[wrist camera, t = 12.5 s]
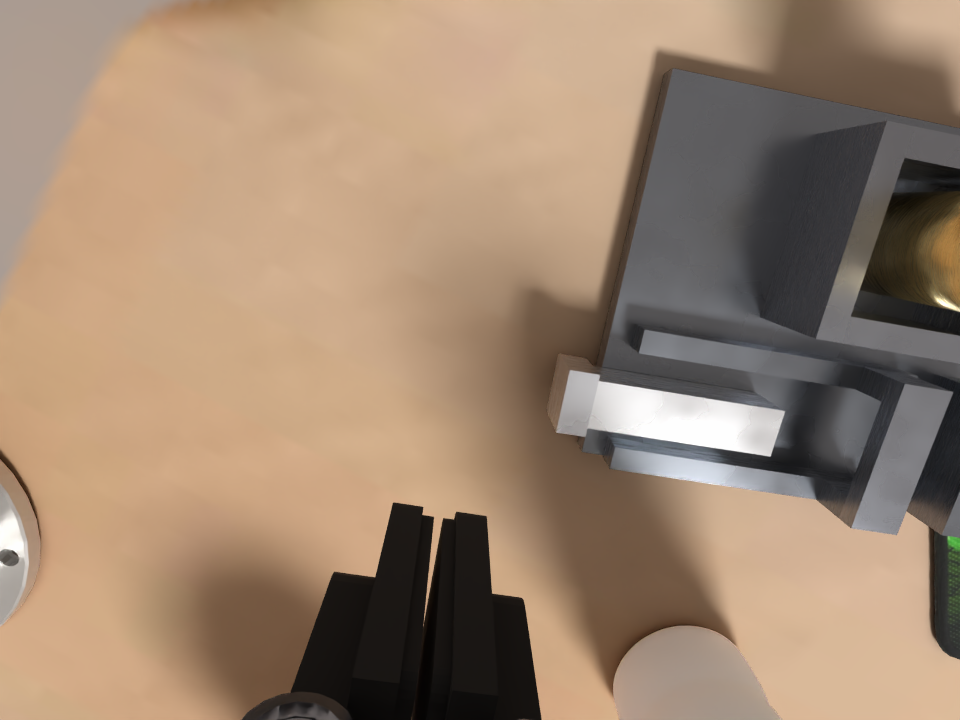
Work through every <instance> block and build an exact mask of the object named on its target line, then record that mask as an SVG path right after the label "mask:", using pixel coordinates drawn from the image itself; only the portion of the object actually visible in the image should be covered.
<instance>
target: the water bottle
mask: <svg viewBox="0 0 960 720" xmlns="http://www.w3.org/2000/svg"><path fill="white" fill-rule="evenodd" d="M613 696H614V702H615V707H616V710H617V713H618V716H619V719H620V720H782V718H781V717H780V716H779V715H778V713H777V712H776V711H775V710H774V709H773V708H772V707H771V705H770V704H769V702H768V699H767V697H766V695H765V693H764V690H763V688H762V686H761V684H760V683H759V681H758V679H757V677H756V675H755V674H754V672H753V670H752V669H751V667H750V665H749V664H748V662H747V661H746V659H745V657H744V656H743V654H742V653H741V652H740V650H739V649H738V648H737V647H736V646H735V645H734V644H733V643H732V642H731V641H730V640H729V639H727V638H726V637H725V636H723V635H721V634H719V633H717V632H715V631H713V630H710V629H707V628H703V627H698V626H674V627H669V628H665V629H661V630H659V631H656V632H654V633H652V634H650V635H648V636H646V637H644V638H643V639H641V640H640V641H639V642H637V643H636V644H635V645H634V646H633V647H632V648H631V649H630V650H629V651H628V652H627V653H626V655H625V656H624V657H623V659H622V660H621V662H620V664H619V666H618V668H617V671H616V674H615V677H614V682H613Z"/></svg>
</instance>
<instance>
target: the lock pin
mask: <svg viewBox="0 0 960 720" xmlns="http://www.w3.org/2000/svg"><path fill="white" fill-rule="evenodd" d="M546 411H547V413H548V415H549V417H550V420H551V422H552V424H553V427H554V429H555V431H556V433H563V434H569V435H576V436H582V437H586V433H587V429H588V428H589V429H595V430H602V431H608V432H614V433H621V434H627V435H634V436H640V437H647V438H653V439H660V440H666V441H673V442H679V443H686V444H692V445H699V446H705V447H712V448H718V449H725V450H731V451H738V452H744V453H751V454H757V455H763V456H771V453H772V450H773V447H774V444H775V441H776V438H777V435H778V432H779V429H780V426H781V423H782V419H783V416H784V413H785V411H784V410H783V409H781V408H780V407H778V406H776V405H775V404H773V403H772V402H770V401H769V400H767V399H765V398H764V397H762V396H761V395H759V394H757V393H756V392H750V391H743V390H737V389H731V388H725V387H719V386H713V385H707V384H701V383H695V382H688V381H682V380H676V379H670V378H664V377H658V376H652V375H646V374H640V373H633V372H627V371H621V370H615V369H609V368H603V367H597V366H592V364H591V363H590V362H589V361H588V360H587V358H584V357H578V356H572V355H566V354H560V353H559V354H558V359H557V363H556V368H555V373H554V377H553V382H552V386H551V391H550V396H549V400H548V405H547V409H546Z"/></svg>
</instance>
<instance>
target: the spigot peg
mask: <svg viewBox="0 0 960 720" xmlns="http://www.w3.org/2000/svg"><path fill="white" fill-rule="evenodd" d="M860 290H861V291H866V292H871V293H875V294H880V295H884V296H889V297H893V298H898V299H903V300H907V301H912V302H916V303H921V304H925V305H930V306H934V307H939V308H944V309H948V310H953V311H957V312H960V191H935V192H893V193H892V196H891V199H890V202H889V205H888V208H887V211H886V214H885V217H884V220H883V223H882V225H881V228H880V231H879V234H878V237H877V240H876V243H875V246H874V249H873V252H872V255H871V258H870V261H869V264H868V267H867V270H866V273H865V276H864V279H863V282H862V284H861V287H860Z"/></svg>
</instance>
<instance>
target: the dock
mask: <svg viewBox="0 0 960 720" xmlns="http://www.w3.org/2000/svg"><path fill="white" fill-rule="evenodd" d="M935 191H960V128H956V127H951V126H946V125H942V124H937V123H932V122H927V121H922V120H918V119H913V118H908V117H903V116H899V115H894V114H889V113H884V112H879V111H875V110H870V109H865V108H860V107H856V106H851V105H846V104H841V103H836V102H832V101H827V100H822V99H817V98H812V97H808V96H803V95H798V94H793V93H789V92H784V91H779V90H774V89H769V88H765V87H760V86H755V85H750V84H746V83H741V82H736V81H731V80H726V79H722V78H717V77H712V76H707V75H703V74H698V73H693V72H688V71H683V70H679V69H674V68H673V69H671V70H670V71H668V72H666V73H665V74H664V77H663V81H662V86H661V90H660V94H659V98H658V103H657V107H656V111H655V115H654V120H653V124H652V128H651V132H650V137H649V141H648V145H647V149H646V154H645V158H644V162H643V166H642V171H641V175H640V179H639V183H638V188H637V192H636V196H635V201H634V205H633V209H632V213H631V218H630V222H629V226H628V230H627V235H626V239H625V243H624V247H623V252H622V256H621V260H620V264H619V269H618V273H617V277H616V281H615V286H614V290H613V294H612V298H611V303H610V307H609V311H608V316H607V320H606V324H605V328H604V333H603V337H602V341H601V345H600V350H599V354H598V358H597V362H596V366H597V367H603V368H609V369H615V370H621V371H627V372H633V373H640V374H646V375H652V376H658V377H664V378H670V379H676V380H682V381H688V382H695V383H701V384H707V385H713V386H719V387H725V388H731V389H737V390H743V391H750V392H756V393H757V394H759V395H761V396H762V397H764V398H765V399H767V400H769V401H770V402H772V403H773V404H775V405H776V406H778V407H780V408H781V409H783V410H784V411H785V413H784V416H783V419H782V423H781V426H780V429H779V432H778V435H777V438H776V441H775V444H774V447H773V450H772V453H771V456H763V455H757V454H751V453H744V452H738V451H731V450H725V449H718V448H712V447H705V446H699V445H692V444H686V443H679V442H673V441H666V440H660V439H653V438H647V437H640V436H634V435H627V434H621V433H614V432H608V431H602V430H595V429H589V428H588V429H587V433H586V437H582V436H579V439H578V445H579V447H580V449H581V451H582V452H586V453H592V454H599V455H603V458H604V460H605V461H606V463H607V465H608V467H609V468H610V469H614V470H621V471H628V472H635V473H641V474H648V475H655V476H661V477H668V478H675V479H682V480H688V481H695V482H702V483H708V484H715V485H722V486H729V487H735V488H742V489H749V490H755V491H762V492H769V493H776V494H782V495H789V496H796V497H802V498H809V499H816V500H818V501H819V502H820V503H821V504H822V505H824V506H825V507H826V508H827V509H828V510H830V511H831V512H832V513H833V514H834V515H836V516H837V517H838V518H839V519H841V520H842V521H843V522H844V523H845V524H847V525H848V526H849V527H850V528H853V529H859V530H866V531H873V532H880V533H887V534H894V535H897V533H898V531H899V528H900V526H901V523H902V521H903V518H904V516H905V513H906V511H907V512H909V513H910V514H911V515H913V516H914V517H916V518H917V519H919V520H920V521H922V522H923V523H925V524H926V525H927V526H929V527H930V528H932V529H933V530H935V531H936V532H938V533H939V534H941V535H944V536H950V537H957V538H960V312H957V311H953V310H948V309H944V308H939V307H934V306H930V305H925V304H921V303H916V302H912V301H907V300H903V299H898V298H893V297H889V296H884V295H880V294H875V293H871V292H866V291H861V290H860V287H861V284H862V282H863V279H864V276H865V273H866V270H867V267H868V264H869V261H870V258H871V255H872V252H873V249H874V246H875V243H876V240H877V237H878V234H879V231H880V228H881V225H882V223H883V220H884V217H885V214H886V211H887V208H888V205H889V202H890V199H891V196H892V193H893V192H935Z"/></svg>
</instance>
